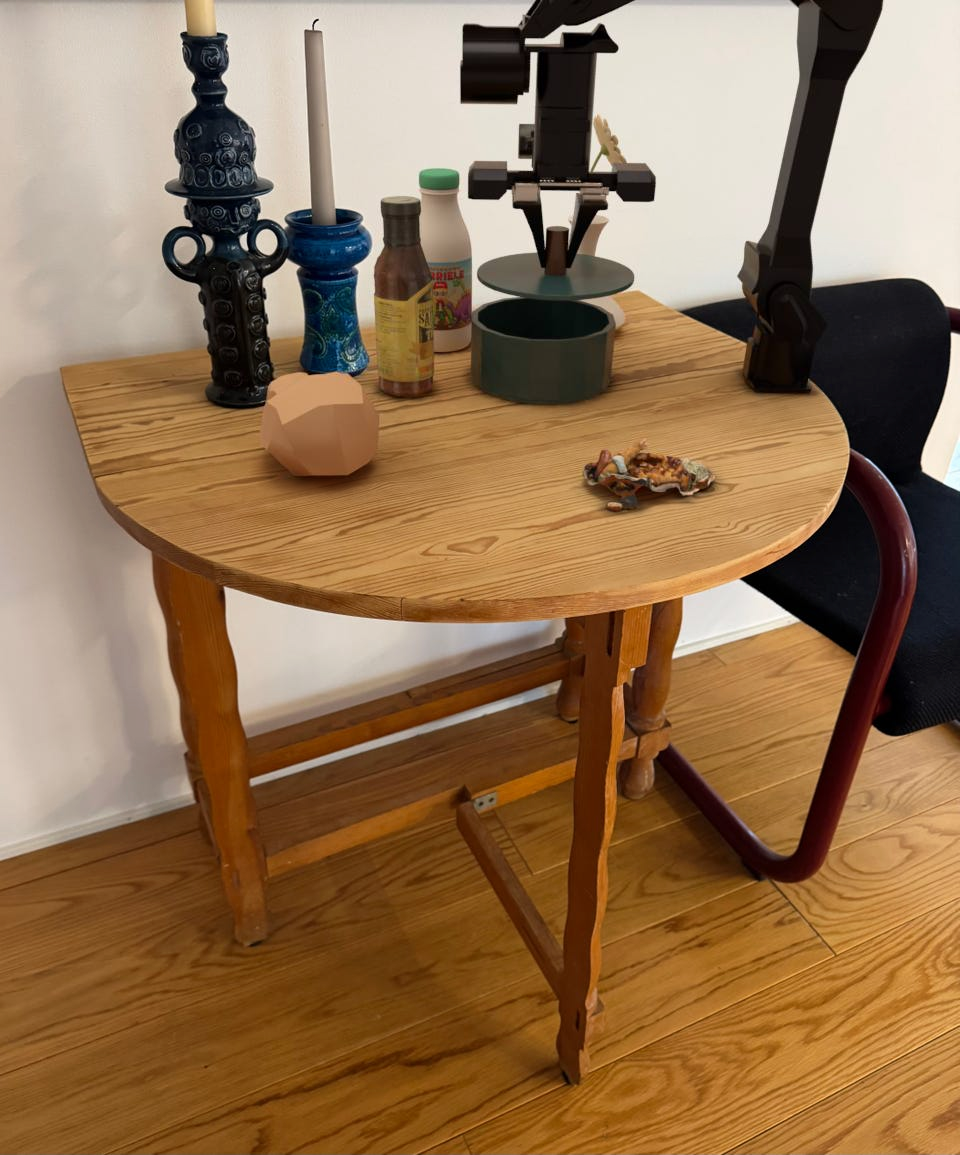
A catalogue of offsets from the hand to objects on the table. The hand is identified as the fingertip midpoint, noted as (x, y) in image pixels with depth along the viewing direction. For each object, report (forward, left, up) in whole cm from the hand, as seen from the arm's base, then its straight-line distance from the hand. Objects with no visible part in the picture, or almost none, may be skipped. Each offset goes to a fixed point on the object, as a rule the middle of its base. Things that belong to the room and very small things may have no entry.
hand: (555, 267), depth 101 cm
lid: (0, 0, -1) cm, 1 cm away
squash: (+24, +19, -13) cm, 33 cm away
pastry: (-8, +25, -13) cm, 30 cm away
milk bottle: (+13, -12, -13) cm, 22 cm away
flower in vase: (-5, -19, -13) cm, 23 cm away
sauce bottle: (+16, +3, -13) cm, 21 cm away
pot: (+1, -1, -13) cm, 13 cm away
